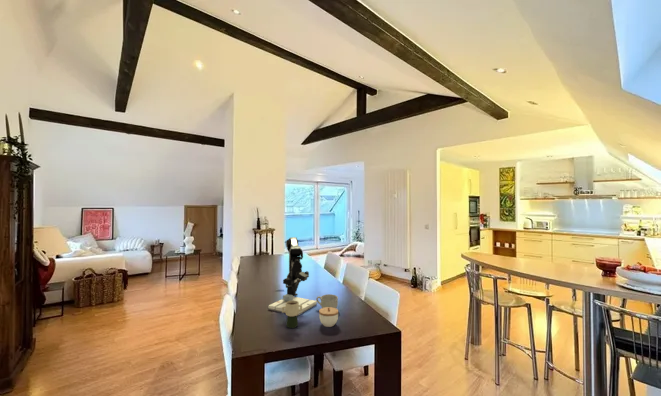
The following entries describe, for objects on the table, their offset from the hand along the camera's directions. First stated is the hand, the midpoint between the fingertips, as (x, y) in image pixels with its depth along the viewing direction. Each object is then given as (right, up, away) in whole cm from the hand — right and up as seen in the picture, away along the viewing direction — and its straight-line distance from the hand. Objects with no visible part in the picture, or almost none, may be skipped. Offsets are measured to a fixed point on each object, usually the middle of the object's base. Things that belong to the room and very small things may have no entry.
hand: (295, 291), depth 187 cm
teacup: (+20, -11, -2) cm, 23 cm away
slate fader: (-6, -9, +7) cm, 13 cm away
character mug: (+2, -10, -28) cm, 30 cm away
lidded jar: (+21, -10, -25) cm, 35 cm away
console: (-2, -10, +2) cm, 11 cm away
